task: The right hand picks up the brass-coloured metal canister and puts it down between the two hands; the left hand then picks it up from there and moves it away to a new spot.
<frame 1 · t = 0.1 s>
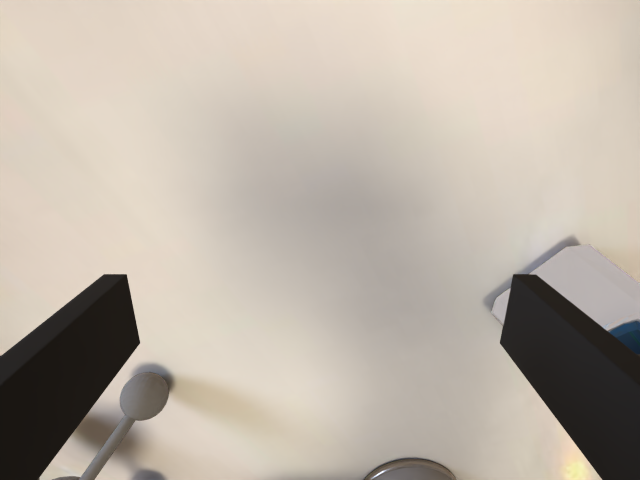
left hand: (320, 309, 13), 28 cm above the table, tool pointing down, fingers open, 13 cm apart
electronic device: (541, 288, 44), on the table
molecular model: (126, 418, 51), on the table
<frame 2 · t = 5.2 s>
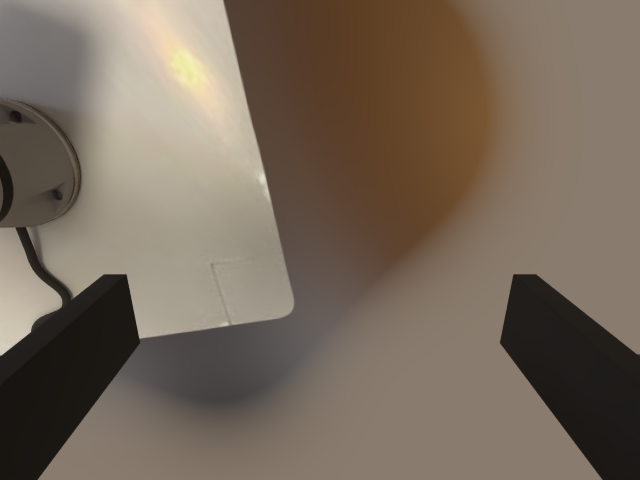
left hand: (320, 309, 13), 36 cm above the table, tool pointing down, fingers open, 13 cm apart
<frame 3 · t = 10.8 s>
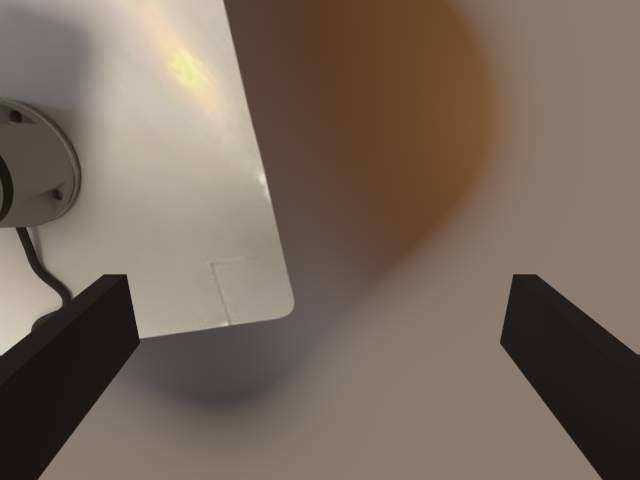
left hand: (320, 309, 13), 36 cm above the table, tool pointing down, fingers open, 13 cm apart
when the right hand's fingers open (5 cm above the table, at t = 16.6 s): canister drops 1 cm, on the table.
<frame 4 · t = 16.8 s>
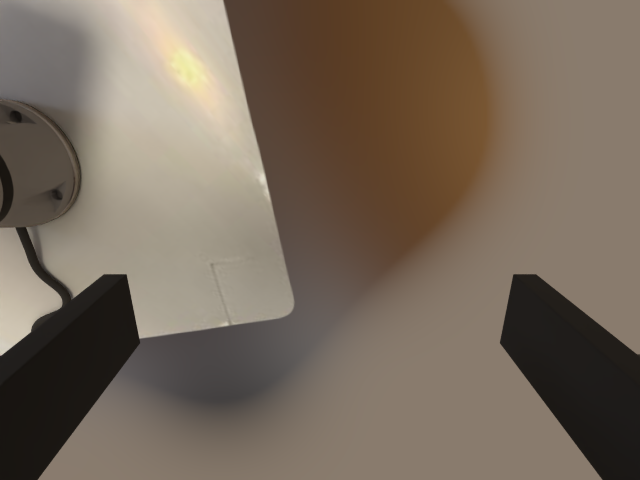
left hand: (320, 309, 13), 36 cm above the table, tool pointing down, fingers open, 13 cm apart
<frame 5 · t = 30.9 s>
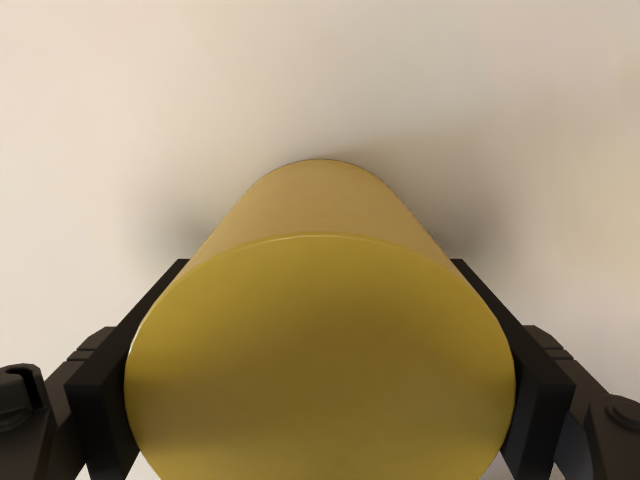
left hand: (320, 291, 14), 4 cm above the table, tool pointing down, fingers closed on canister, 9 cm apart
canister: (319, 253, 18), on the table, touching left hand
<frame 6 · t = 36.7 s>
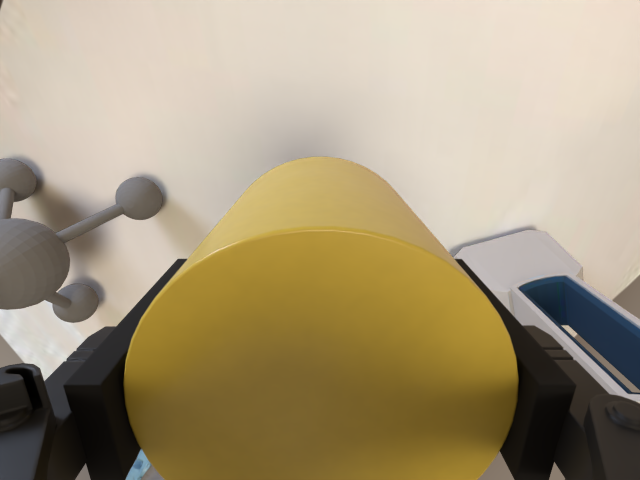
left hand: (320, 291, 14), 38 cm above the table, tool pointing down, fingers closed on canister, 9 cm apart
canister: (320, 251, 18), point 34 cm above the table, touching left hand
electronic device: (494, 258, 54), on the table
molecular model: (100, 218, 53), on the table
when the left hand's fingers open (5 cm above the table, at t = 42.6 s): canister drops 1 cm, on the table.
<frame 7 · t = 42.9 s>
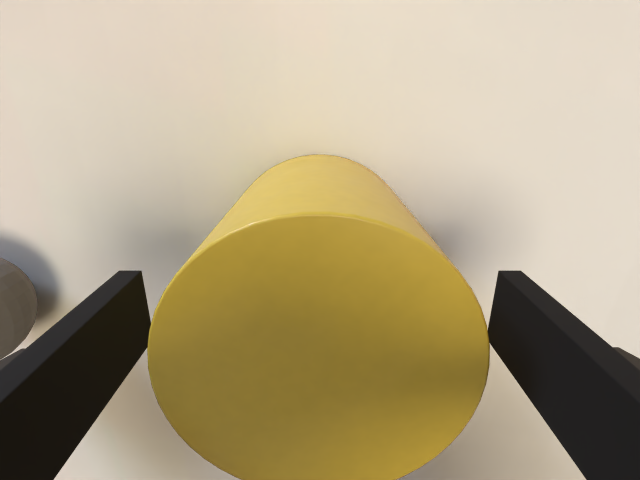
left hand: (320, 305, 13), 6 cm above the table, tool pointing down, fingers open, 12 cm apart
canister: (319, 243, 19), on the table
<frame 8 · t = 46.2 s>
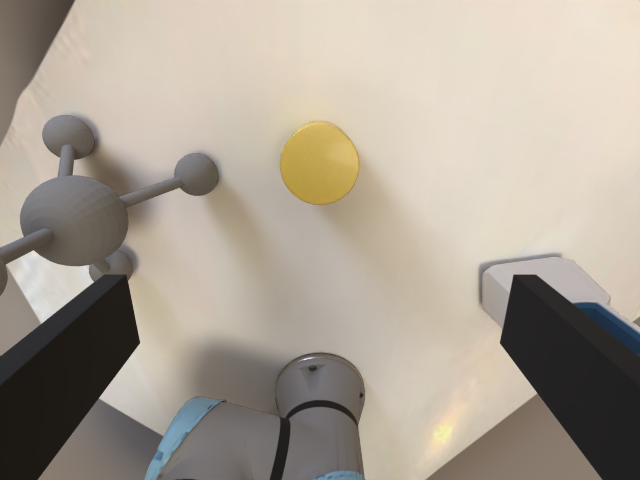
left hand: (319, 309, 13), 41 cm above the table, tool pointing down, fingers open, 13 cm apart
canister: (319, 155, 51), on the table
electronic device: (519, 279, 58), on the table
molecular model: (149, 189, 53), on the table
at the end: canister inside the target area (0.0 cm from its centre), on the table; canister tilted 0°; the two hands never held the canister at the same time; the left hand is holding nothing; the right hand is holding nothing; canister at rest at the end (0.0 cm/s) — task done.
